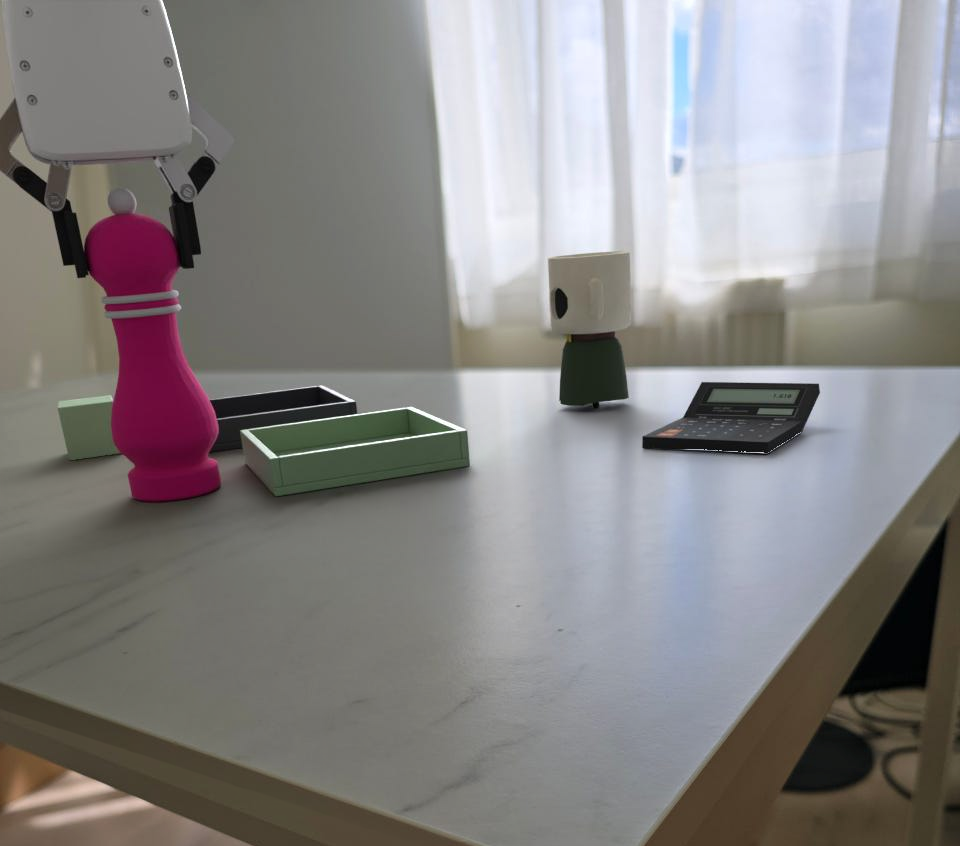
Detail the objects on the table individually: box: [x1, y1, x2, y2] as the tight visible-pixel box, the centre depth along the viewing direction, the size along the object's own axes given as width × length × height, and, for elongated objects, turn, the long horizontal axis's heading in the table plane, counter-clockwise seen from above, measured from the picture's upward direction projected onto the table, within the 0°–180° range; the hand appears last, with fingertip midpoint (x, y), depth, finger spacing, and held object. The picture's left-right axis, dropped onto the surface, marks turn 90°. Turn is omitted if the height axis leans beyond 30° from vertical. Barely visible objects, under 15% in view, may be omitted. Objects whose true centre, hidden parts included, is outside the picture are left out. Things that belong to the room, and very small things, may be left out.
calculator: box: [641, 381, 821, 453], centre depth 76 cm, size 9×12×3 cm
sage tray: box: [240, 406, 471, 497], centre depth 77 cm, size 14×13×3 cm
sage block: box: [57, 394, 122, 461], centre depth 89 cm, size 4×4×4 cm
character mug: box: [547, 250, 632, 410], centre depth 90 cm, size 11×7×13 cm, turn 1°
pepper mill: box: [83, 187, 222, 502], centre depth 70 cm, size 7×7×20 cm
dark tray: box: [209, 384, 358, 453], centre depth 93 cm, size 14×13×3 cm
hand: (135, 270), depth 68 cm, fingers closed on pepper mill, 6 cm apart
